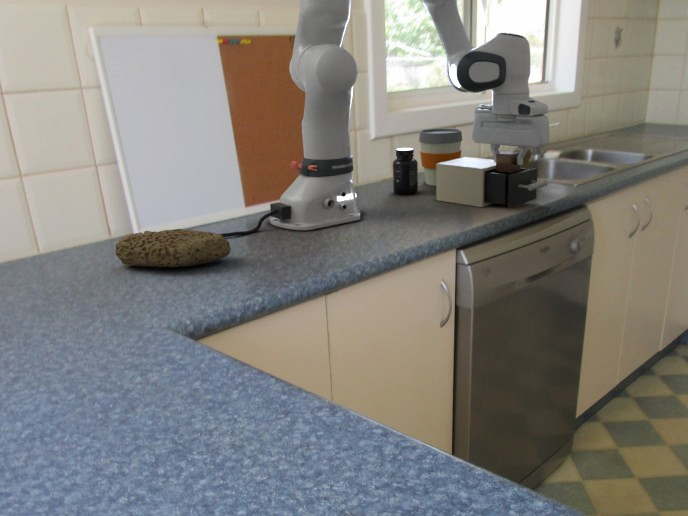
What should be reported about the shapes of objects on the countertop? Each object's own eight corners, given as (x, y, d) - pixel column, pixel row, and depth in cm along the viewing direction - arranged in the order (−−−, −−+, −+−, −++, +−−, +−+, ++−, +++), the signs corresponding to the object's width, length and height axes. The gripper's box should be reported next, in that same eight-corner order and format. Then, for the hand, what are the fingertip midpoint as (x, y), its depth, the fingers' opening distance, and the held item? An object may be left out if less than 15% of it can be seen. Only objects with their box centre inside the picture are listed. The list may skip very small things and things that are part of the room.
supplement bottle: (388, 193, 185) (387, 149, 180) (407, 189, 188) (406, 146, 184) (403, 196, 179) (402, 151, 175) (423, 193, 183) (422, 149, 179)
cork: (525, 190, 183) (526, 149, 179) (505, 188, 186) (506, 148, 182) (535, 186, 187) (536, 147, 183) (515, 184, 191) (517, 145, 187)
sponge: (114, 277, 125) (197, 265, 117) (105, 236, 124) (189, 221, 116) (163, 269, 137) (242, 257, 129) (156, 231, 136) (235, 217, 128)
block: (510, 172, 162) (511, 154, 160) (495, 171, 164) (496, 153, 163) (520, 170, 165) (521, 152, 163) (505, 168, 168) (506, 150, 166)
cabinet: (509, 198, 174) (511, 161, 171) (482, 207, 165) (482, 168, 162) (464, 192, 183) (465, 156, 180) (436, 200, 174) (436, 163, 171)
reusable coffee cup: (426, 188, 189) (425, 134, 184) (415, 180, 201) (413, 129, 195) (467, 185, 192) (468, 132, 187) (454, 177, 203) (454, 127, 198)
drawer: (551, 201, 165) (552, 169, 163) (527, 209, 158) (528, 177, 155) (491, 193, 177) (492, 163, 174) (466, 200, 169) (466, 170, 166)
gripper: (467, 105, 163) (466, 161, 168) (540, 108, 151) (537, 169, 155) (482, 103, 168) (481, 158, 173) (554, 106, 155) (551, 165, 160)
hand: (508, 163), depth 164 cm, fingers closed on block, 4 cm apart
